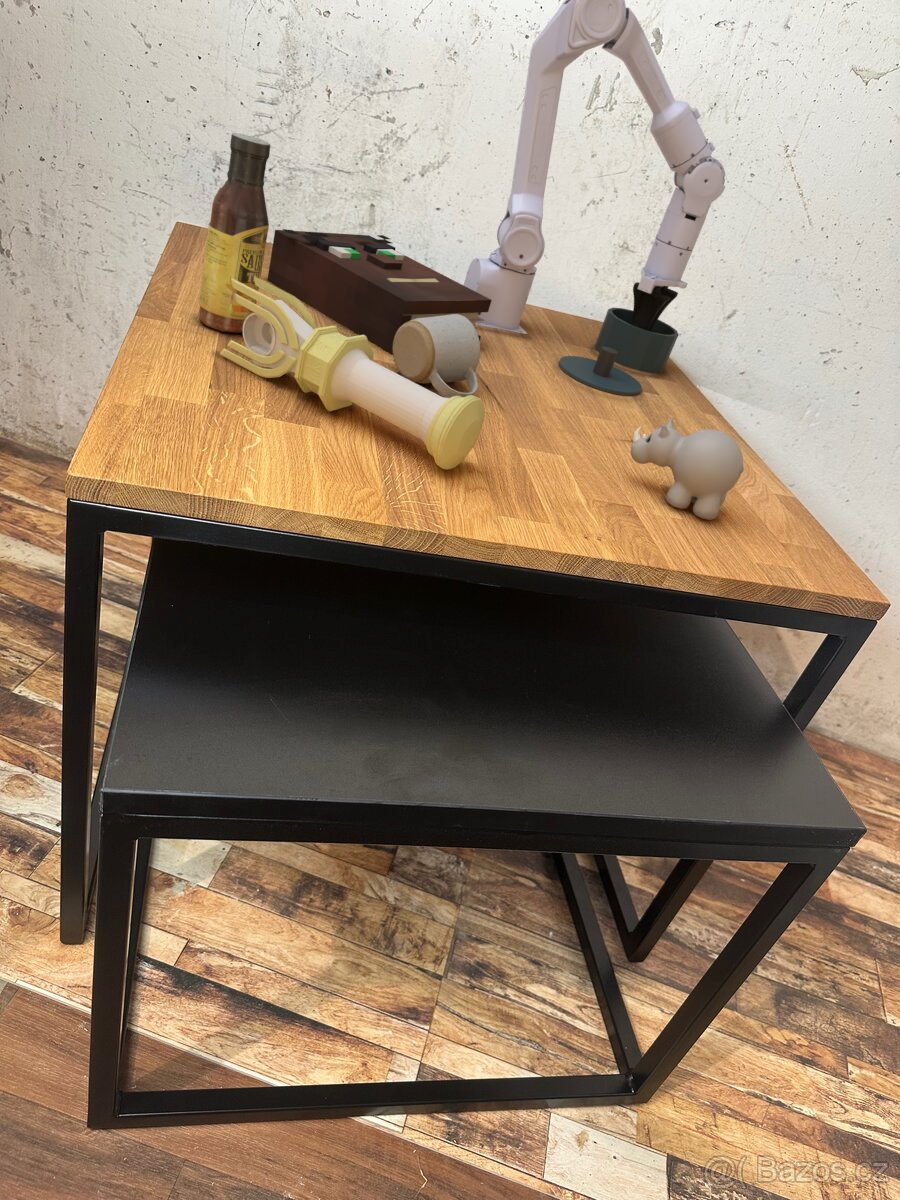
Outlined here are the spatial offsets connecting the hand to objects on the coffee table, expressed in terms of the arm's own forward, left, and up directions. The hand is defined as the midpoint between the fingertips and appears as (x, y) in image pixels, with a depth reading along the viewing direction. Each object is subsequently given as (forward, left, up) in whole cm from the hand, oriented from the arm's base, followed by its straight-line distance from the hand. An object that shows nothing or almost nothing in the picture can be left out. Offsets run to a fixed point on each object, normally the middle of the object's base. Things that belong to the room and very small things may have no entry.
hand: (638, 334), depth 134 cm
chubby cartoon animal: (-18, -46, -5) cm, 50 cm away
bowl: (0, 0, -4) cm, 4 cm away
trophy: (-53, -36, -5) cm, 64 cm away
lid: (-11, -12, -4) cm, 17 cm away
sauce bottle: (-63, -16, -5) cm, 65 cm away
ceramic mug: (-39, -24, -5) cm, 46 cm away
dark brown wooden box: (-42, -1, -5) cm, 42 cm away
